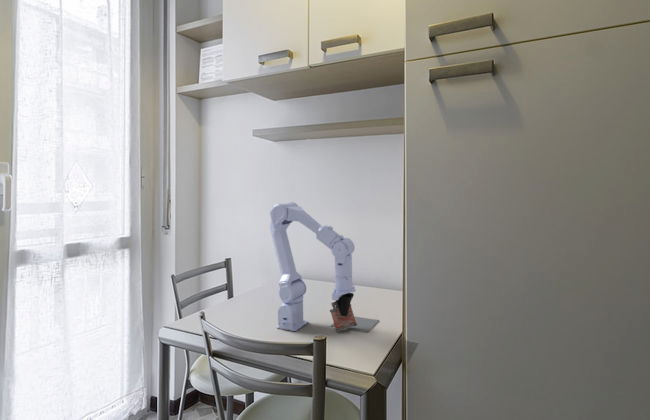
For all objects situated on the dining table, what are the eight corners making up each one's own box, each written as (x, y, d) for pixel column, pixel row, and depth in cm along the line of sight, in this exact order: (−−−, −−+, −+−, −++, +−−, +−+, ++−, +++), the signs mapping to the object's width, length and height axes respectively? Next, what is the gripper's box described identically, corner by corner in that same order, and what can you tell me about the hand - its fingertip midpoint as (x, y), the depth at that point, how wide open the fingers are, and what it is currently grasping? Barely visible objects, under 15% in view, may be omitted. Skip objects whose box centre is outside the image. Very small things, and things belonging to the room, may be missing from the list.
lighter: (337, 331, 124) (329, 301, 127) (334, 332, 127) (326, 303, 130) (358, 324, 127) (350, 296, 130) (355, 325, 130) (346, 297, 133)
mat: (368, 332, 125) (368, 331, 125) (330, 326, 131) (330, 325, 131) (378, 320, 136) (378, 320, 136) (343, 315, 142) (343, 314, 142)
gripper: (346, 281, 115) (346, 324, 116) (362, 271, 128) (362, 310, 129) (325, 279, 118) (326, 321, 119) (343, 270, 131) (344, 307, 132)
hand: (343, 315), depth 124 cm, fingers closed
